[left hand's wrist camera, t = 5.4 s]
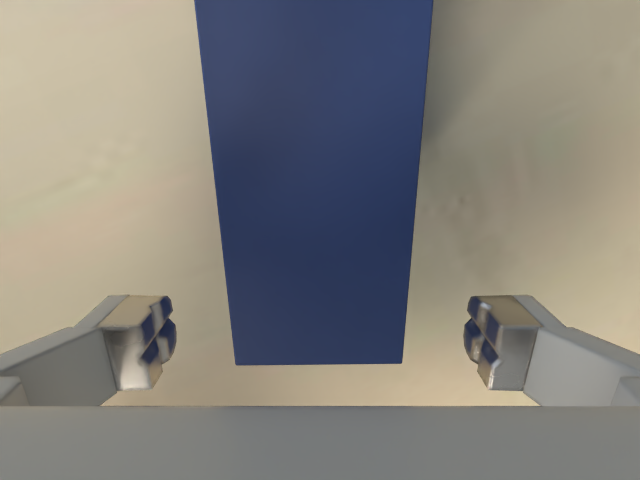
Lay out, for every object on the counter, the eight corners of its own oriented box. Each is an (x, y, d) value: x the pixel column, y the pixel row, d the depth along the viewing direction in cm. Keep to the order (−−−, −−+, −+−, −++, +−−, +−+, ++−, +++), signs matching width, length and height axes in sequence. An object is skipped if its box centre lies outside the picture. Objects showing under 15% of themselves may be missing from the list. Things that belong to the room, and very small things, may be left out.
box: (366, 251, 24) (402, 364, 14) (270, 252, 24) (235, 366, 14) (385, -229, 16) (505, -820, 6) (240, -227, 16) (100, -816, 6)
